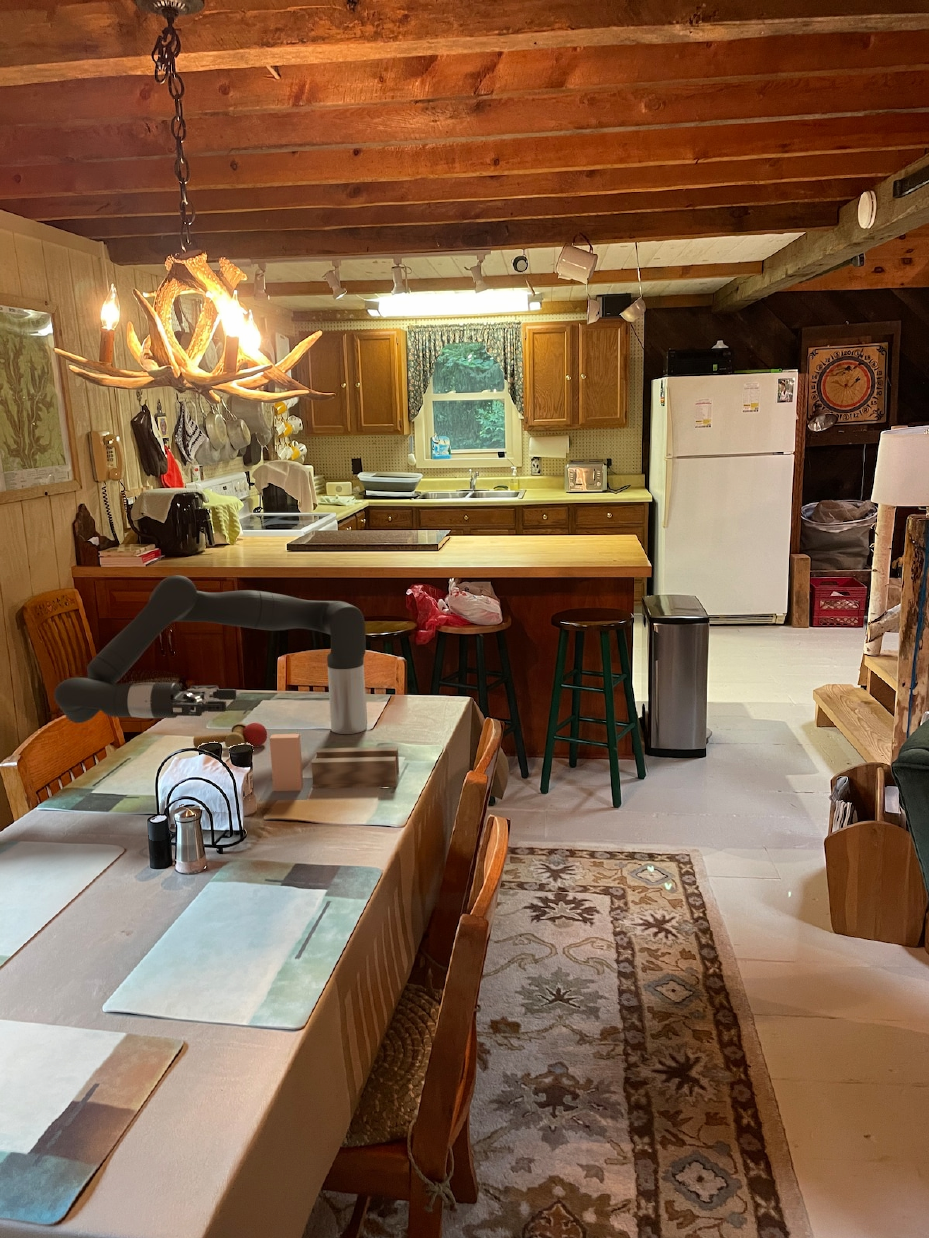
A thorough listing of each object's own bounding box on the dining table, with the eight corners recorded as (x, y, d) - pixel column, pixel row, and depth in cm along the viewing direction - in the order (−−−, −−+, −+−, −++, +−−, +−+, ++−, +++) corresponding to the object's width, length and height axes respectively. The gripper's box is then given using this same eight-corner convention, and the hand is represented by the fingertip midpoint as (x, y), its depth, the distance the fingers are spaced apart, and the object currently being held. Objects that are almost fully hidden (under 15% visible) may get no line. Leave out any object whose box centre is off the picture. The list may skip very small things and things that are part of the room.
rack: (313, 789, 196) (311, 762, 195) (319, 774, 205) (318, 748, 204) (396, 787, 196) (394, 760, 195) (399, 772, 205) (398, 746, 204)
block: (273, 790, 195) (269, 738, 193) (275, 786, 198) (272, 734, 195) (301, 790, 195) (297, 737, 193) (303, 785, 198) (299, 733, 195)
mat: (259, 802, 191) (259, 800, 191) (271, 780, 203) (271, 778, 202) (306, 800, 191) (306, 799, 191) (316, 778, 202) (316, 777, 202)
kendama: (192, 759, 221) (264, 747, 220) (187, 733, 220) (260, 722, 220) (202, 753, 228) (272, 742, 228) (198, 728, 228) (268, 717, 228)
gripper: (141, 692, 184) (221, 692, 184) (164, 674, 198) (238, 674, 198) (144, 727, 186) (223, 727, 186) (166, 707, 200) (240, 707, 200)
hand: (231, 700), depth 192 cm, fingers open, 8 cm apart
